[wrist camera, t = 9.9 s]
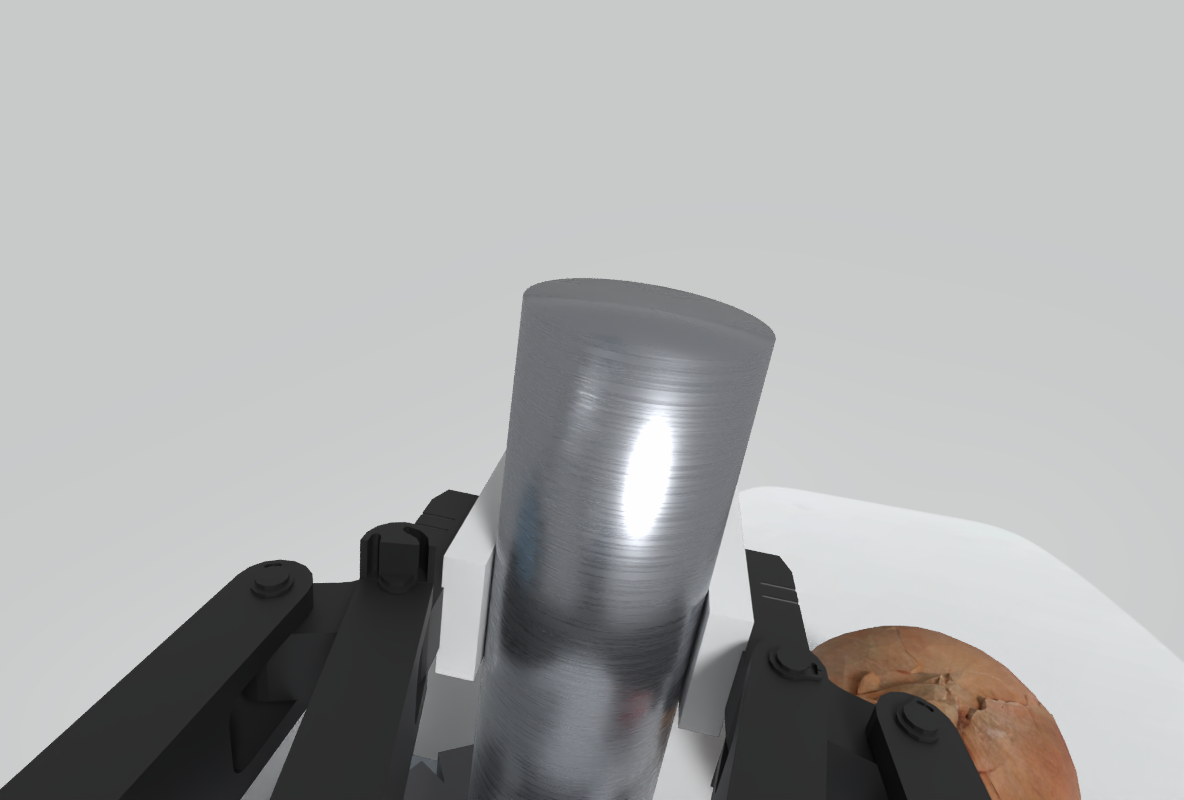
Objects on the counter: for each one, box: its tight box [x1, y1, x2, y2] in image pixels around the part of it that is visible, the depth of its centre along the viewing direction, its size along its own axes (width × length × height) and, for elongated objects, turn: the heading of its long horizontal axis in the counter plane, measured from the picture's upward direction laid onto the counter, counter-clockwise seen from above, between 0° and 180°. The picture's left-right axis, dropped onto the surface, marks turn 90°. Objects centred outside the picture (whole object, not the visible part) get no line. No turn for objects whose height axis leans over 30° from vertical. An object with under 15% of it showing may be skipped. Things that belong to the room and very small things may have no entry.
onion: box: [811, 626, 1081, 800], centre depth 23 cm, size 10×9×10 cm
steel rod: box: [468, 278, 776, 800], centre depth 13 cm, size 4×4×14 cm
